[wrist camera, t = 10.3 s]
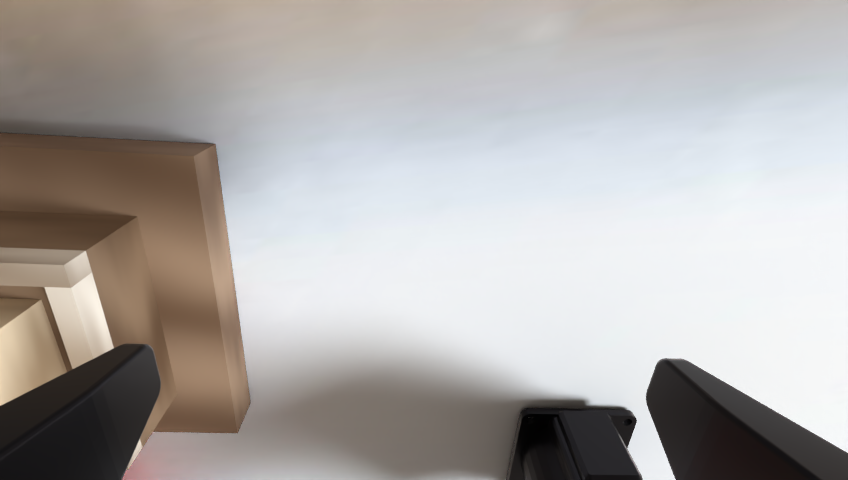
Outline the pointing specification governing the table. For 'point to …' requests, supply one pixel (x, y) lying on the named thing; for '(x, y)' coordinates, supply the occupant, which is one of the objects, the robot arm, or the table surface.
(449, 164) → the table surface
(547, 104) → the table surface
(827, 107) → the table surface
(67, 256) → the tower base
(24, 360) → the maple block
